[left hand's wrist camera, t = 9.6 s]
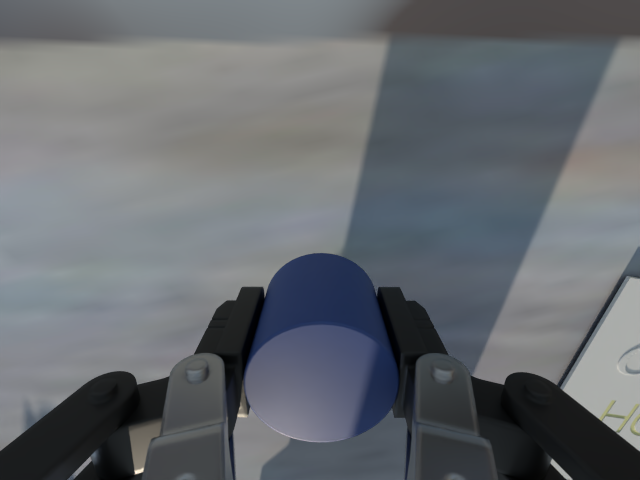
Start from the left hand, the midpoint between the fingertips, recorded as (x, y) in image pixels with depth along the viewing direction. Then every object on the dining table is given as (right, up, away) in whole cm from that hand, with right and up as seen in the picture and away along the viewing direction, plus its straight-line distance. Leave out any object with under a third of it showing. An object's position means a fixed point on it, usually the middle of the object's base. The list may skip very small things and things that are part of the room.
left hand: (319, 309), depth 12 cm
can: (0, 0, 0) cm, 0 cm away
